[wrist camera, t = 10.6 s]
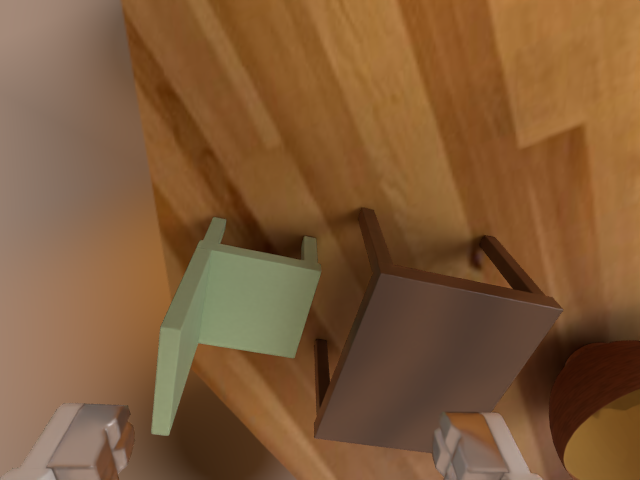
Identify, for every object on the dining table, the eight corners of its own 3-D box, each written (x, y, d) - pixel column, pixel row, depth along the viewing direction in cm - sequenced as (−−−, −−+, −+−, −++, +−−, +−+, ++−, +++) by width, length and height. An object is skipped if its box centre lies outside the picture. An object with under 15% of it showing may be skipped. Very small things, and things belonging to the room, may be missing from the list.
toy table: (311, 347, 44) (314, 438, 35) (359, 204, 36) (380, 273, 26) (427, 366, 47) (459, 456, 37) (498, 235, 38) (563, 309, 29)
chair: (199, 300, 40) (150, 434, 27) (211, 214, 36) (159, 326, 23) (295, 317, 42) (292, 451, 29) (319, 236, 37) (327, 354, 24)
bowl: (691, 358, 48) (778, 435, 39) (558, 427, 53) (608, 508, 45) (632, 274, 41) (721, 344, 32) (487, 363, 47) (530, 443, 38)
